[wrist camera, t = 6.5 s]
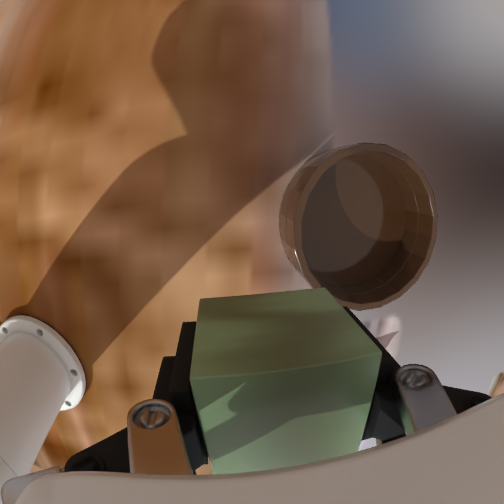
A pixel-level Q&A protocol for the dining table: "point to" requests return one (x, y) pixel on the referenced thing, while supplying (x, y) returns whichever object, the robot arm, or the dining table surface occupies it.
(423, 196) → the bowl
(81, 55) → the dining table surface
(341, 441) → the green cube
